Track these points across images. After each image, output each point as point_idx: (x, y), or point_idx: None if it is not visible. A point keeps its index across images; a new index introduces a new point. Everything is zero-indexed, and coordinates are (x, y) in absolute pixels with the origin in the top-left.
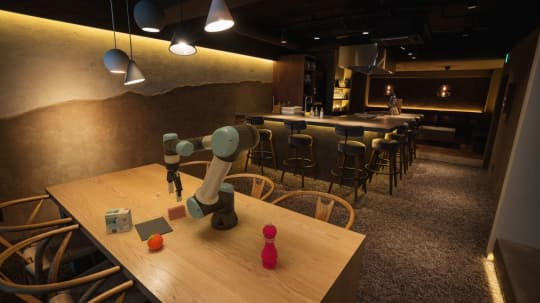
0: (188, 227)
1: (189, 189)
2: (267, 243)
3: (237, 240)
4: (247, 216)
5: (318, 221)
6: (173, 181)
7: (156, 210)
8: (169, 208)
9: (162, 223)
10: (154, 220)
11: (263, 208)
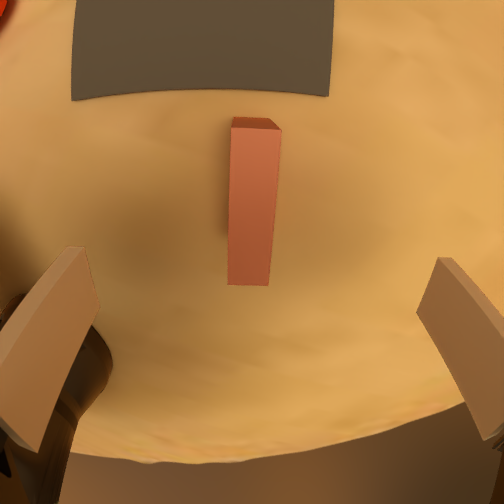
0: (69, 197)
1: None
2: None
3: None
4: None
5: None
6: (494, 446)
7: (454, 116)
8: (279, 149)
9: (210, 52)
10: (306, 23)
11: (121, 445)
